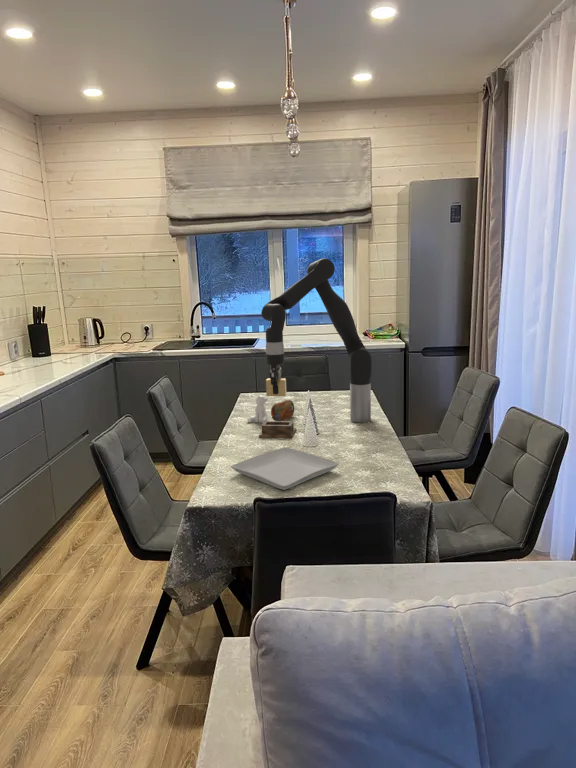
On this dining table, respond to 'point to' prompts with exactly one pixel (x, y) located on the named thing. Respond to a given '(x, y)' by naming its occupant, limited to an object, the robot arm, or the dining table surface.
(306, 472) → the square plate
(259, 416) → the sitting furry creature
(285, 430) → the slotted block
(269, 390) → the tan wooden block
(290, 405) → the tin
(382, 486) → the dining table surface
